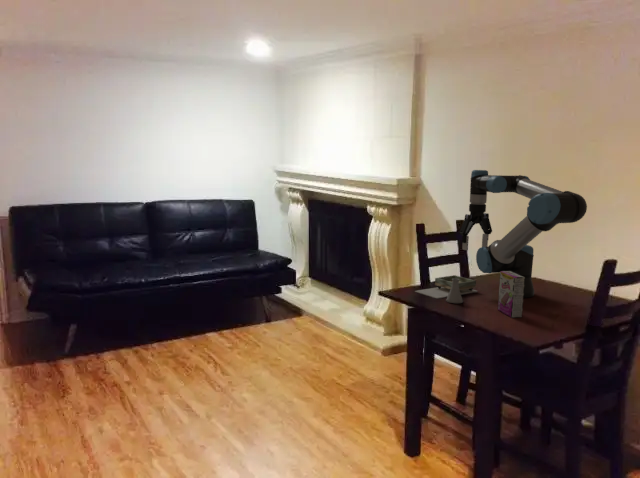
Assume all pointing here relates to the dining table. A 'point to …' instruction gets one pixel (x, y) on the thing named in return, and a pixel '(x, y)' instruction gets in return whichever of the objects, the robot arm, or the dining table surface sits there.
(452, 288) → the flask
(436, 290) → the mat
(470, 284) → the square tray
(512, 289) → the candy bar box
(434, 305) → the dining table surface
